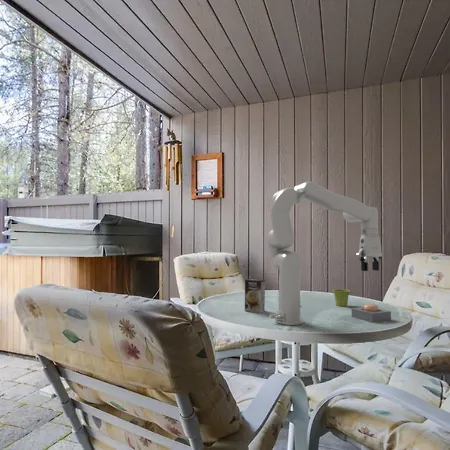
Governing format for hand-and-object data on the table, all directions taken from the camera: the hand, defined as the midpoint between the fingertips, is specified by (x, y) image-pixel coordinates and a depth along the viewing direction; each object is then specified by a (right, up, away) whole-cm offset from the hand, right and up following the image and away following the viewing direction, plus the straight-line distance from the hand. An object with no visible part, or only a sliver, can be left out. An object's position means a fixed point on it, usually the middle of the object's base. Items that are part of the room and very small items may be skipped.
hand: (370, 270), depth 151 cm
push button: (0, -20, -1) cm, 20 cm away
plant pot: (-3, -25, +29) cm, 38 cm away
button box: (0, -23, -1) cm, 23 cm away
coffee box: (-54, -23, +13) cm, 60 cm away
